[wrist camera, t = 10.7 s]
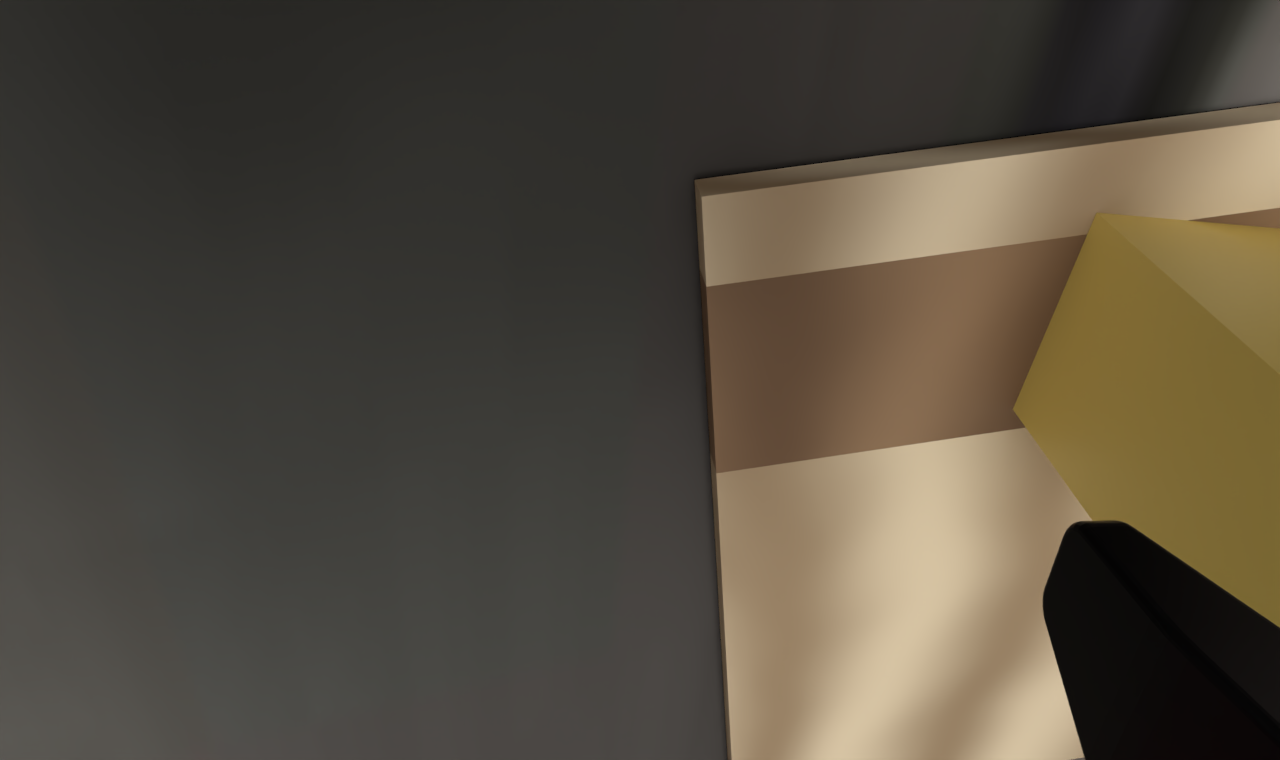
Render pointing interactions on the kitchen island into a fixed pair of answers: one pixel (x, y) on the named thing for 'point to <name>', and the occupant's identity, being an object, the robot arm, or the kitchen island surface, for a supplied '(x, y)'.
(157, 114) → the kitchen island surface
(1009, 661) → the panel
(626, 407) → the kitchen island surface
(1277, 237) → the tall mustard yellow pillar
